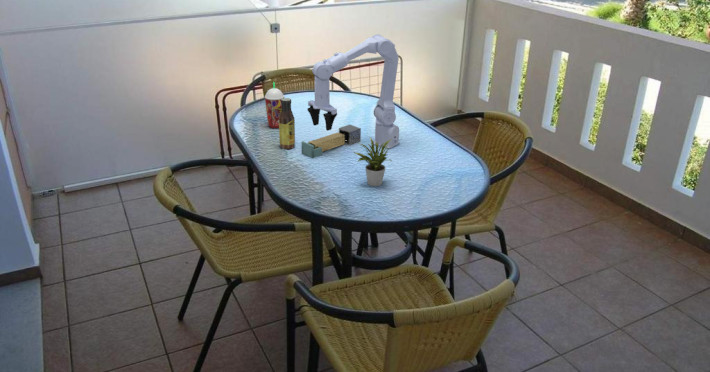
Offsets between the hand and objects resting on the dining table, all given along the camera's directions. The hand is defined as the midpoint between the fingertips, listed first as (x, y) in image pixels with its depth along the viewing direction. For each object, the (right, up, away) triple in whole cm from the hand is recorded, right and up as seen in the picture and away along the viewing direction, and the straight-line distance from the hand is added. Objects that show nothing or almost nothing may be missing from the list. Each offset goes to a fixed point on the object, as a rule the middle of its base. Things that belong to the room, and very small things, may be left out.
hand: (322, 127), depth 235 cm
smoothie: (-22, +3, +29) cm, 37 cm away
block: (+1, -8, +5) cm, 9 cm away
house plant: (+20, -22, -21) cm, 36 cm away
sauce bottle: (-15, -7, +8) cm, 18 cm away
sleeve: (+11, -5, +14) cm, 18 cm away
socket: (-4, -11, +1) cm, 11 cm away
